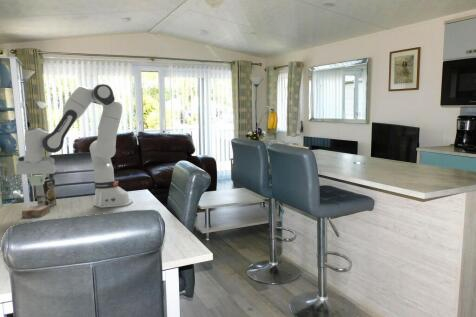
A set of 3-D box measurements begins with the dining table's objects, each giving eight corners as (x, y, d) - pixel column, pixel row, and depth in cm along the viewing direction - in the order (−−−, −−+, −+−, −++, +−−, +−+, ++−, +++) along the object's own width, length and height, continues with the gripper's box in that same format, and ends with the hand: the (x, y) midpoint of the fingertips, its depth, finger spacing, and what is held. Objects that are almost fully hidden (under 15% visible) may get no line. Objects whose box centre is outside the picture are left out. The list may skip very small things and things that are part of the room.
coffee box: (46, 207, 217) (44, 181, 215) (37, 207, 218) (34, 181, 216) (57, 204, 226) (54, 178, 224) (48, 204, 227) (45, 178, 225)
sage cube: (44, 183, 207) (43, 175, 206) (39, 185, 202) (39, 176, 202) (35, 184, 207) (34, 175, 206) (30, 185, 202) (29, 176, 201)
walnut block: (49, 212, 208) (49, 205, 207) (41, 217, 198) (40, 210, 197) (31, 213, 207) (31, 206, 207) (22, 218, 197) (21, 210, 197)
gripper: (56, 156, 206) (58, 180, 208) (19, 157, 205) (22, 181, 207) (51, 157, 200) (53, 182, 201) (13, 158, 199) (15, 183, 201)
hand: (37, 181), depth 204 cm, fingers closed on sage cube, 5 cm apart
